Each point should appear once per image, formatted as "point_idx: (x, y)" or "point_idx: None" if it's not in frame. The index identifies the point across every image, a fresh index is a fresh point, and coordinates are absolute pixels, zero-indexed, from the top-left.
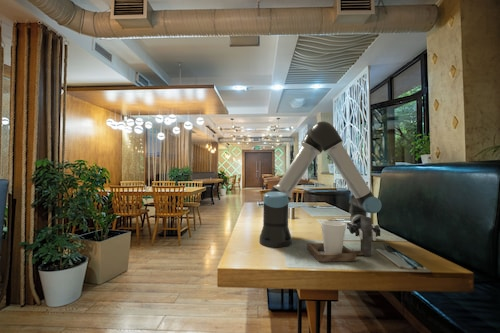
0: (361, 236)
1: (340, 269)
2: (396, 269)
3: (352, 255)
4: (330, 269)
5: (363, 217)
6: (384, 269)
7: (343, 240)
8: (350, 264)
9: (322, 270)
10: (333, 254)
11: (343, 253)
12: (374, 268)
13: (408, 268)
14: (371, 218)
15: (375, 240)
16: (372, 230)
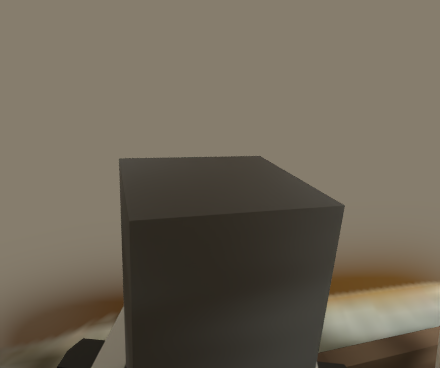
0: None
1: (353, 301)
2: (95, 338)
3: (324, 357)
4: (388, 296)
5: (274, 170)
6: None
7: (437, 358)
8: None
9: (410, 286)
10: (429, 331)
11: (384, 356)
12: None
13: (8, 361)
14: (124, 166)
15: None
16: (110, 365)
